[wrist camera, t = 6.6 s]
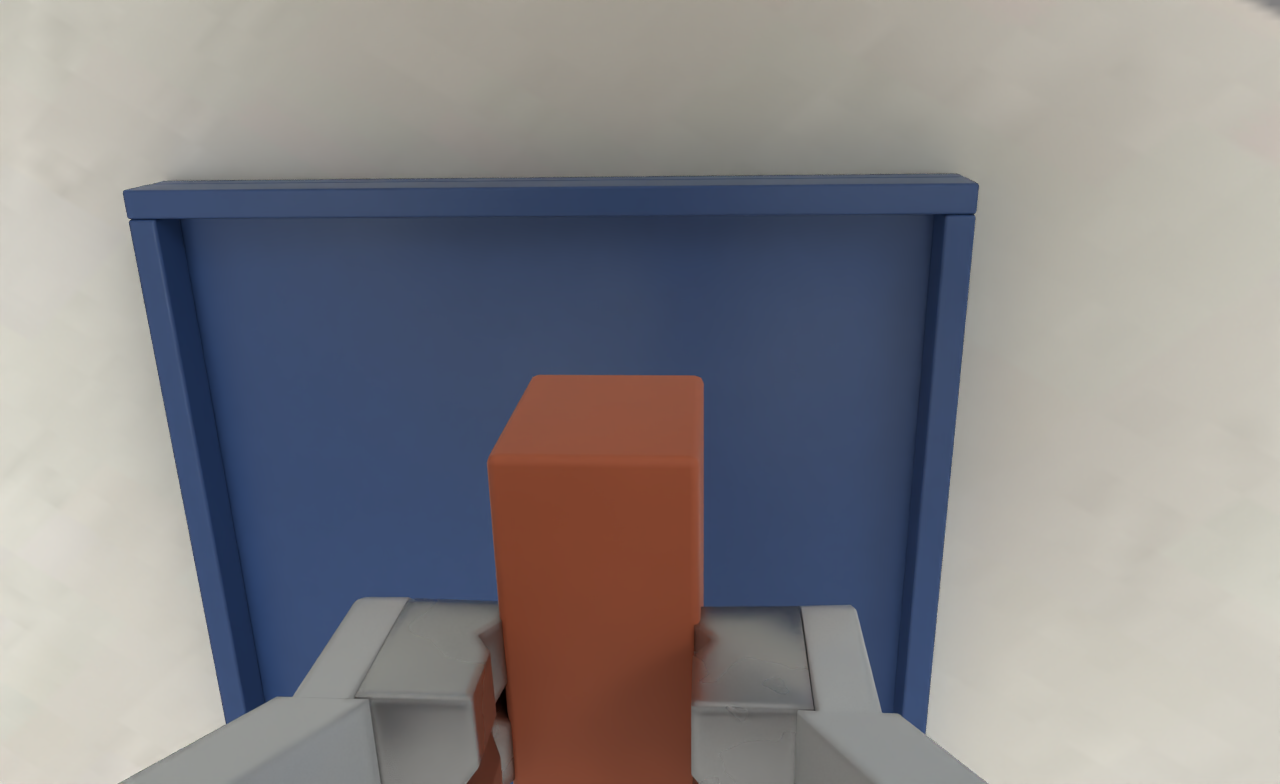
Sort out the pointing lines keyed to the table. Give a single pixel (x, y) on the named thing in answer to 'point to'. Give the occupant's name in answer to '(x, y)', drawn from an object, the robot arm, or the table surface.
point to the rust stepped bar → (600, 575)
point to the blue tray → (553, 345)
